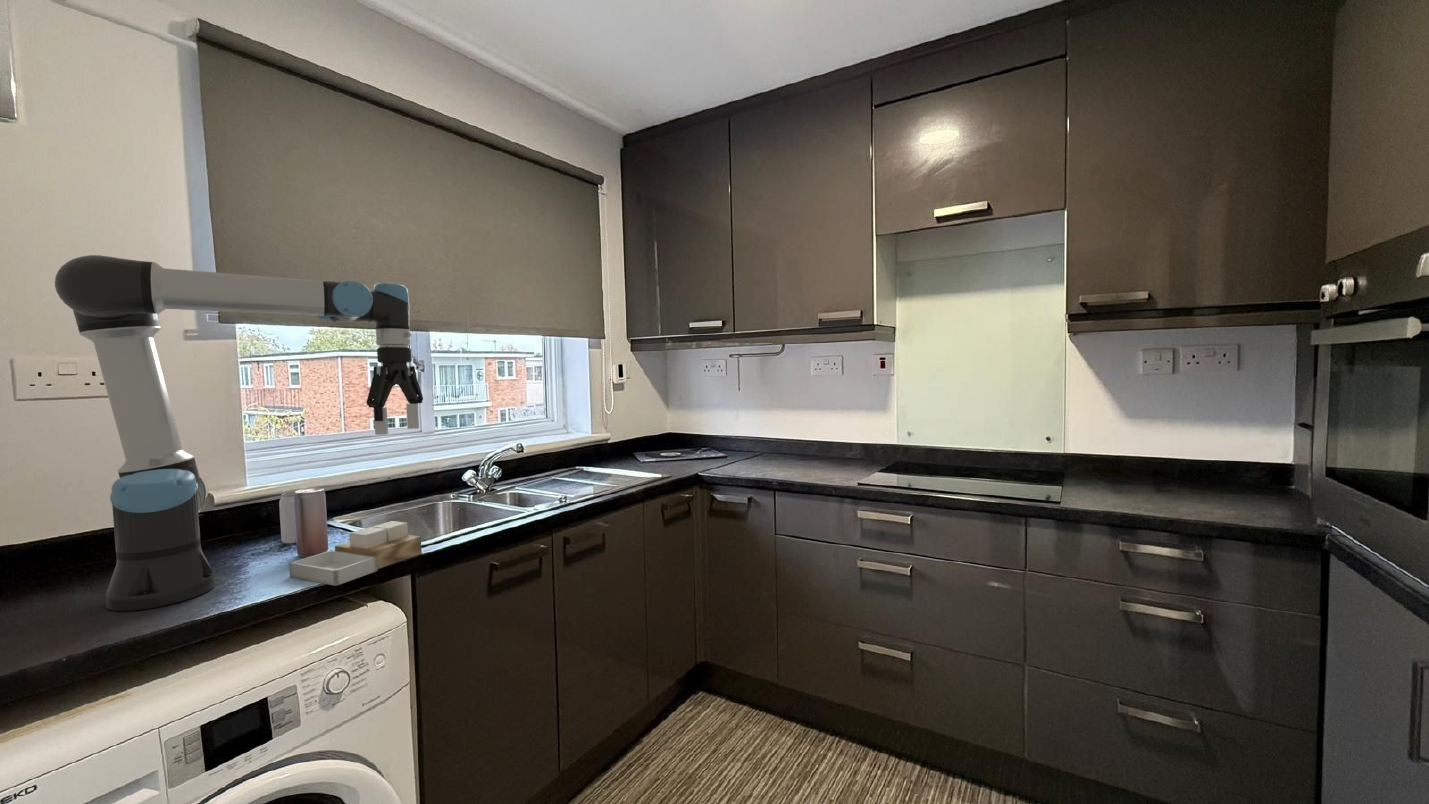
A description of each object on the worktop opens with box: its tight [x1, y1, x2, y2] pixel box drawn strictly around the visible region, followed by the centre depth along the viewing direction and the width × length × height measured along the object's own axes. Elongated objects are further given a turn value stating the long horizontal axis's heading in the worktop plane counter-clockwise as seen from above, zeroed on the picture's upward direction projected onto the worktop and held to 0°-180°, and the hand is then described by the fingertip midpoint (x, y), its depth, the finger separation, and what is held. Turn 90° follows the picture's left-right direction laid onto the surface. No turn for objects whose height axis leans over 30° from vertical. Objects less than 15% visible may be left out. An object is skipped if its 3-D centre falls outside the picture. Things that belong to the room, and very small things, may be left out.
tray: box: [288, 549, 378, 587], centre depth 122 cm, size 9×14×3 cm, turn 68°
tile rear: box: [371, 520, 409, 542], centre depth 134 cm, size 5×5×3 cm
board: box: [334, 534, 423, 570], centre depth 132 cm, size 12×12×4 cm
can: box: [278, 491, 297, 545], centre depth 147 cm, size 6×6×12 cm
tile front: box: [348, 526, 387, 549], centre depth 129 cm, size 5×5×3 cm
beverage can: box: [294, 487, 329, 559], centre depth 135 cm, size 6×6×15 cm
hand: (398, 431), depth 147 cm, fingers open, 13 cm apart
